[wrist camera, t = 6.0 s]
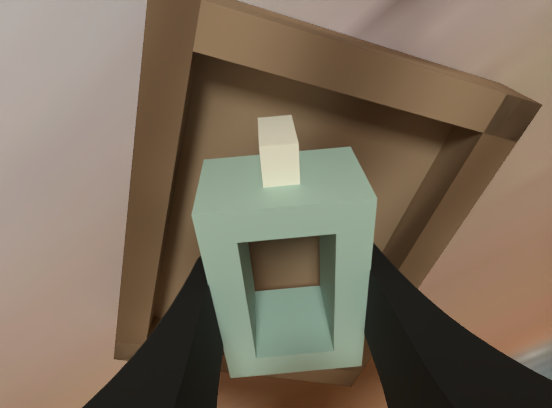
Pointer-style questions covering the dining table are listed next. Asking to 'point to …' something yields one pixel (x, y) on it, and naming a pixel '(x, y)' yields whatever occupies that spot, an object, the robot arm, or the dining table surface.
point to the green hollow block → (279, 225)
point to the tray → (311, 136)
